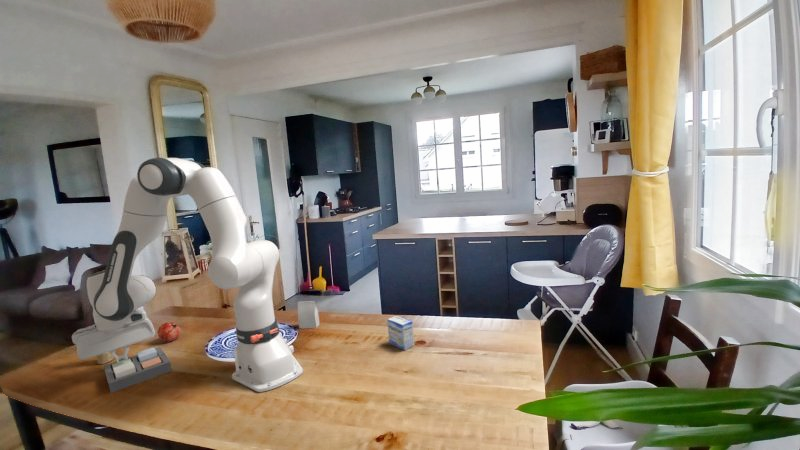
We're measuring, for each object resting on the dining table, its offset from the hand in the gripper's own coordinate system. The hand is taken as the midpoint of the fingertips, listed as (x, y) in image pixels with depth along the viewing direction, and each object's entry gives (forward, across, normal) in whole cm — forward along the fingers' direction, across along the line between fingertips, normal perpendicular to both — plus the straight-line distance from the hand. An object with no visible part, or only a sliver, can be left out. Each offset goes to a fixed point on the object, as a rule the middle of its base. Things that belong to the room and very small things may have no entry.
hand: (122, 360), depth 124 cm
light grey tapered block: (+6, +57, -17) cm, 60 cm away
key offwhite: (+3, 0, -7) cm, 7 cm away
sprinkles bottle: (+4, -4, +17) cm, 18 cm away
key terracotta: (+4, +7, -7) cm, 10 cm away
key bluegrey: (+3, +7, 0) cm, 7 cm away
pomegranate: (+5, +16, +17) cm, 24 cm away
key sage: (+4, 0, 0) cm, 4 cm away
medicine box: (+6, +69, -57) cm, 90 cm away
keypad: (+4, +3, -3) cm, 6 cm away
